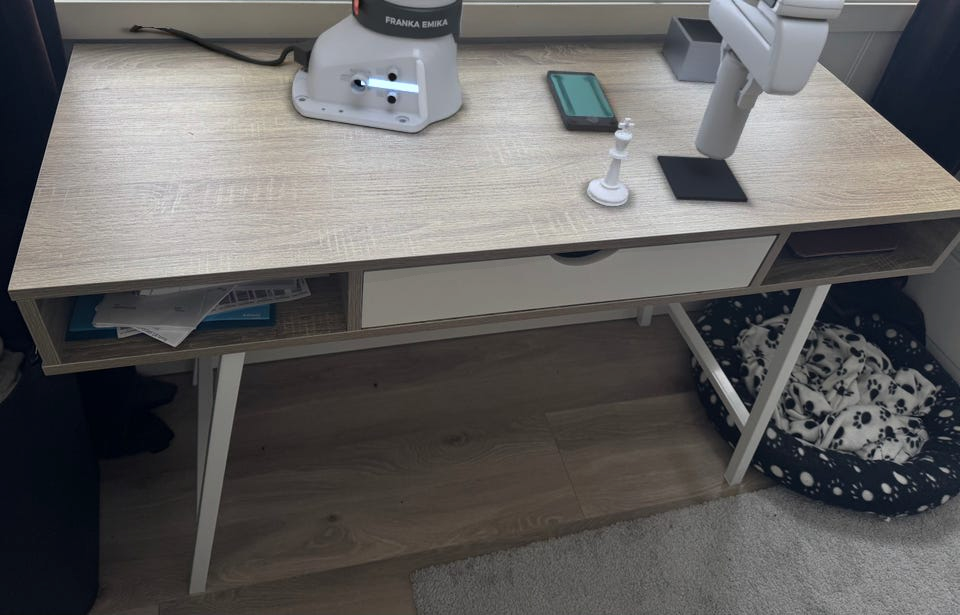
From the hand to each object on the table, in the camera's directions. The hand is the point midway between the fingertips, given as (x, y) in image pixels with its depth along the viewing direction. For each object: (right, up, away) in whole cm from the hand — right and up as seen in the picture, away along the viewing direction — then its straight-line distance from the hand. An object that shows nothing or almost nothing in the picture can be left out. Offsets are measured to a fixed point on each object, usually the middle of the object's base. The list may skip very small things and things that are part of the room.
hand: (733, 93), depth 84 cm
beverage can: (-1, -6, +5) cm, 8 cm away
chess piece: (-14, -11, +3) cm, 18 cm away
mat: (-1, -8, +8) cm, 12 cm away
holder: (+6, +14, +32) cm, 36 cm away
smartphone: (-15, +4, +19) cm, 25 cm away
